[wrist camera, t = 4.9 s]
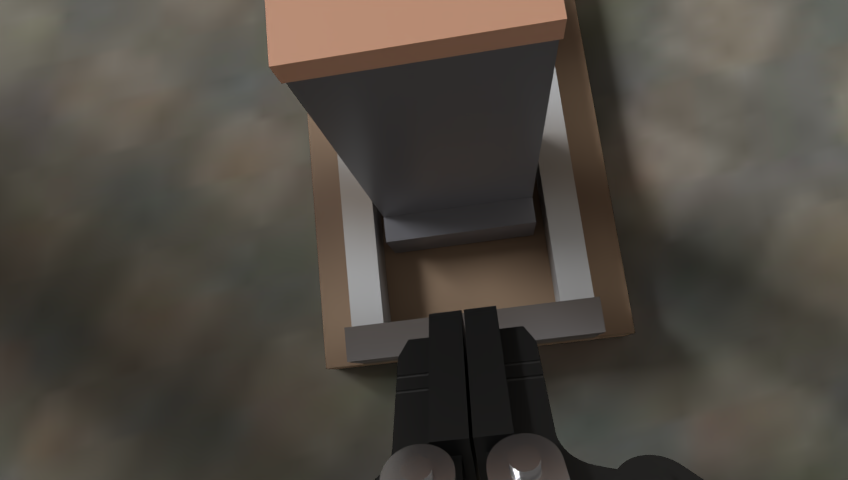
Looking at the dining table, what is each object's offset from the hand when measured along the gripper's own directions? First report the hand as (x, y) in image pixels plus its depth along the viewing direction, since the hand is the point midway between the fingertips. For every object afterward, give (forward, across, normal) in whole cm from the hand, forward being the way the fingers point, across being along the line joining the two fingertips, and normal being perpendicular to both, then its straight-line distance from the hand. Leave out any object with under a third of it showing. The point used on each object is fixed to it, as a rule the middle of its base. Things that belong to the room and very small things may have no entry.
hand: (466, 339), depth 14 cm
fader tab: (+8, 0, +1) cm, 8 cm away
